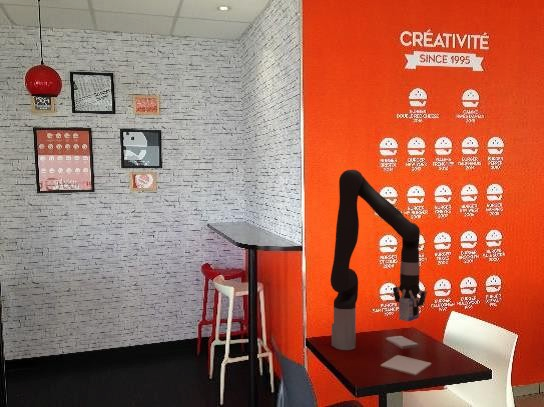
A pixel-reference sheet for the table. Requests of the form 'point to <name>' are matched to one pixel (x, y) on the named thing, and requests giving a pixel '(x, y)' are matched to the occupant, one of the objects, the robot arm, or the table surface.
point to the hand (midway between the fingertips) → (409, 314)
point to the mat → (406, 365)
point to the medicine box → (406, 309)
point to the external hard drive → (402, 342)
